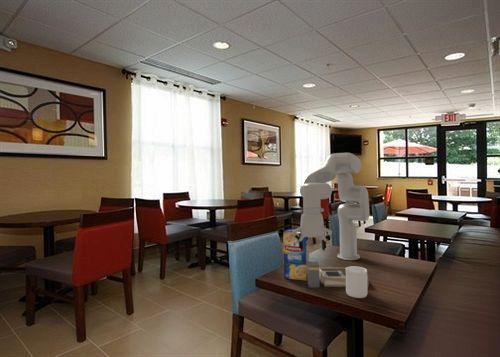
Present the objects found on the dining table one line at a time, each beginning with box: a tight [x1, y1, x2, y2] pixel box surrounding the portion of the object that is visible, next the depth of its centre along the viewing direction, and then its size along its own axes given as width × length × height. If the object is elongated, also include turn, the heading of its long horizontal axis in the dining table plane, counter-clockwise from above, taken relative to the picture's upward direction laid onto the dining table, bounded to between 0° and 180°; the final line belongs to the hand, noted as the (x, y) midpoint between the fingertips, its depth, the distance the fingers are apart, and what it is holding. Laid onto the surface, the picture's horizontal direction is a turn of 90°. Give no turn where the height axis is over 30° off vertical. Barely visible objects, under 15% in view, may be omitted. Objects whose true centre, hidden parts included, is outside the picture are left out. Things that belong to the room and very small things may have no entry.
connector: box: [307, 261, 321, 288], centre depth 131 cm, size 5×5×10 cm
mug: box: [345, 265, 368, 299], centre depth 122 cm, size 12×8×10 cm
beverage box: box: [282, 229, 310, 282], centre depth 142 cm, size 7×11×22 cm, turn 67°
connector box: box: [319, 267, 370, 288], centre depth 135 cm, size 14×19×4 cm
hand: (312, 249), depth 130 cm, fingers open, 9 cm apart
